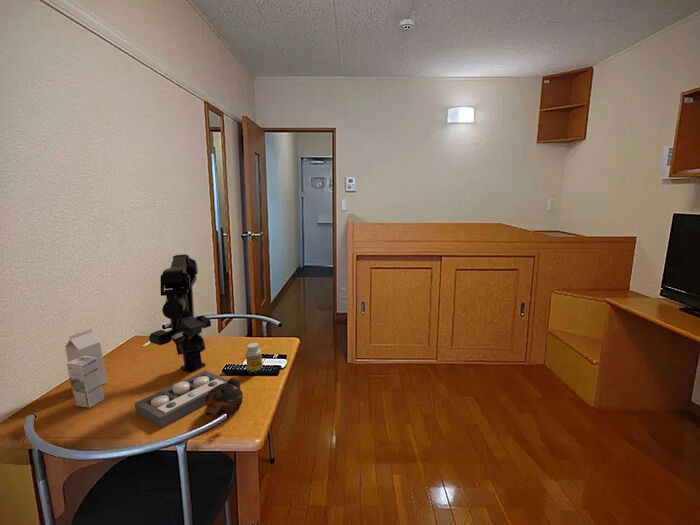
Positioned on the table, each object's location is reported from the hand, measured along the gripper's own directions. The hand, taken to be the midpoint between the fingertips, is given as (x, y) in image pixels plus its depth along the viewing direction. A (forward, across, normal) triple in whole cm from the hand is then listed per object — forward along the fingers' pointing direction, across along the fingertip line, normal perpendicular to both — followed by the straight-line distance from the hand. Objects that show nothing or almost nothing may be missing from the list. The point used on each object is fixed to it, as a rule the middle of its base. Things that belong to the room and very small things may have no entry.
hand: (184, 354), depth 131 cm
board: (+11, -6, -8) cm, 15 cm away
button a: (+10, -13, -5) cm, 17 cm away
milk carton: (+12, -17, +30) cm, 36 cm away
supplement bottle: (+11, +19, -12) cm, 25 cm away
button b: (+9, -6, -6) cm, 12 cm away
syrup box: (+11, -22, +18) cm, 31 cm away
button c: (+10, +1, -6) cm, 12 cm away
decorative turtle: (+11, -4, -23) cm, 26 cm away
